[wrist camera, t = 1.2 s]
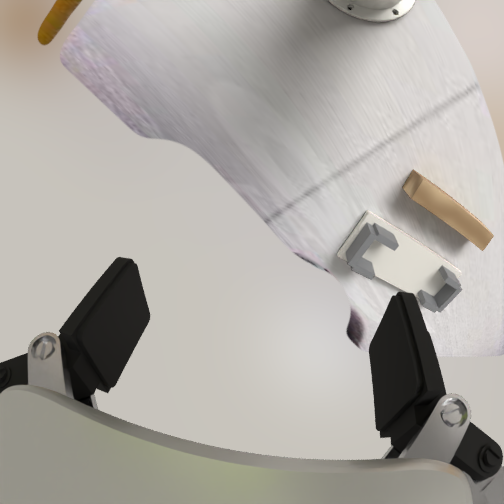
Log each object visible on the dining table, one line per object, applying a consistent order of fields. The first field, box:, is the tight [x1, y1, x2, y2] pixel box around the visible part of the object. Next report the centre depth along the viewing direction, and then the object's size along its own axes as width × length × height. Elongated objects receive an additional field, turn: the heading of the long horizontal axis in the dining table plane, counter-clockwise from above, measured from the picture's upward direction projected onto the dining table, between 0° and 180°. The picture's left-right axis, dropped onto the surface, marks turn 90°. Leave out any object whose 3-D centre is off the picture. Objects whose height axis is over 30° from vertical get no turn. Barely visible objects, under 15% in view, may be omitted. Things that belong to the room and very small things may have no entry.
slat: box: [402, 170, 494, 251], centre depth 32 cm, size 3×16×4 cm, turn 68°
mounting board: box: [337, 210, 462, 313], centre depth 38 cm, size 8×21×4 cm, turn 66°
